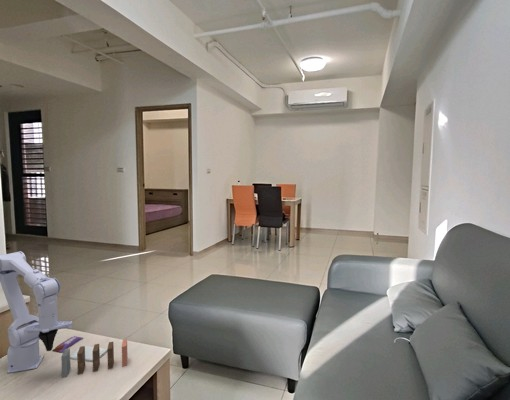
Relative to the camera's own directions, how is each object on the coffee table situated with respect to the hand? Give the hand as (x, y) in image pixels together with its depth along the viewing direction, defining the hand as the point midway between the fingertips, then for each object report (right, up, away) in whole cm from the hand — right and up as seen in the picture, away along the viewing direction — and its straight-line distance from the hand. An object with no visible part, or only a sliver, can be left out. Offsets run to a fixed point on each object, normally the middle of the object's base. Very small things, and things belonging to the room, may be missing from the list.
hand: (49, 349), depth 111 cm
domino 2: (+9, -10, +4) cm, 14 cm away
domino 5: (+23, -10, +9) cm, 27 cm away
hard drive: (+7, -10, +14) cm, 18 cm away
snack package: (-6, -9, +21) cm, 24 cm away
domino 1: (+5, -10, +2) cm, 11 cm away
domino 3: (+14, -10, +6) cm, 18 cm away
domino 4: (+19, -10, +7) cm, 22 cm away
